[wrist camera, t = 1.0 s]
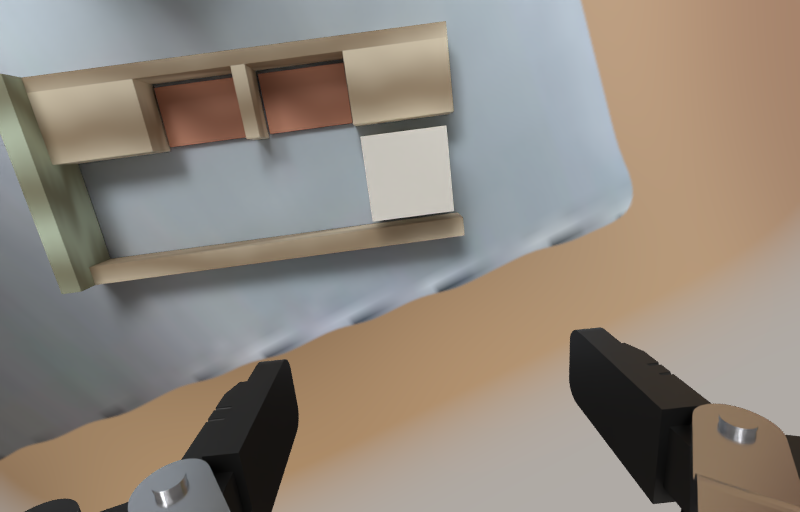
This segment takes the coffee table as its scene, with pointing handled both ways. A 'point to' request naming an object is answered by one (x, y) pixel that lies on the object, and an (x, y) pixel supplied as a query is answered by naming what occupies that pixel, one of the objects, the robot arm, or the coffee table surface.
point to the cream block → (408, 173)
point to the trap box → (213, 136)
